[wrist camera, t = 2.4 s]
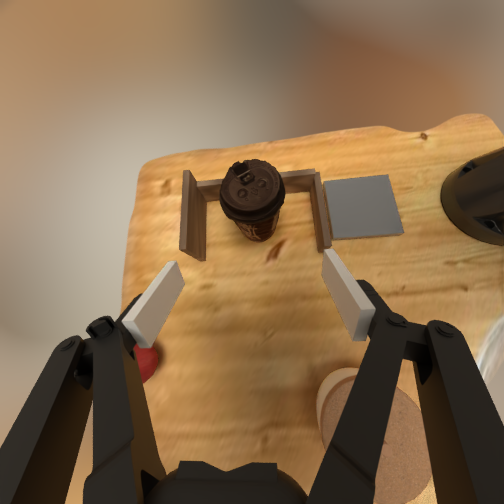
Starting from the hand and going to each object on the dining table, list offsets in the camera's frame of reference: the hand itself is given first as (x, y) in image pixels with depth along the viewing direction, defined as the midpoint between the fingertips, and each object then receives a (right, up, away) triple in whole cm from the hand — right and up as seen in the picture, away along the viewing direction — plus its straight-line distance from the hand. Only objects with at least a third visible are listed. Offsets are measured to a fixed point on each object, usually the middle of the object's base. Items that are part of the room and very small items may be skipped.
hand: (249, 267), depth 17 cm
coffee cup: (+1, +6, +18) cm, 19 cm away
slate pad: (+19, +9, +16) cm, 27 cm away
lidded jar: (+14, -19, +10) cm, 26 cm away
